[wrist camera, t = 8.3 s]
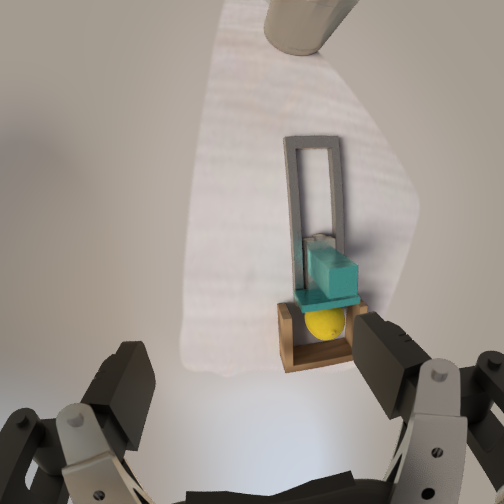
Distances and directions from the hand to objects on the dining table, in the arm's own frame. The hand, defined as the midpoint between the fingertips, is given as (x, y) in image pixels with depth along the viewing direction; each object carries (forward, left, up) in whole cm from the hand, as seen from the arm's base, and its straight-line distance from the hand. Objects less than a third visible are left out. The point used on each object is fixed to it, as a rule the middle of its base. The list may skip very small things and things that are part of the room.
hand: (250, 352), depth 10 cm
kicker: (+6, +11, -29) cm, 32 cm away
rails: (+1, +11, -29) cm, 31 cm away
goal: (+16, +11, -29) cm, 35 cm away
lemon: (+13, +11, -29) cm, 34 cm away
